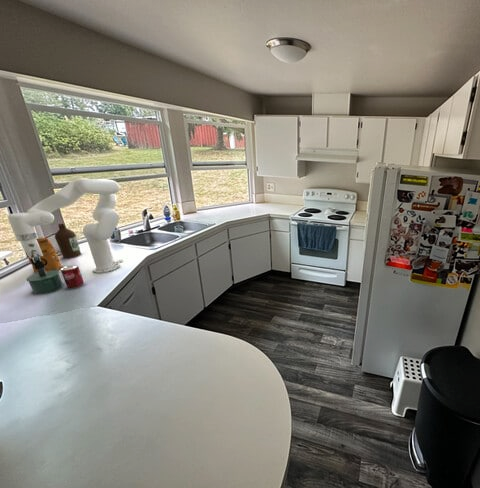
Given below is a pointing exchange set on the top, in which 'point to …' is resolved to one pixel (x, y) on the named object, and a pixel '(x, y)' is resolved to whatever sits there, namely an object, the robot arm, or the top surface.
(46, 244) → the coffee package
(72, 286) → the soda can
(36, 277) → the lid
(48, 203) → the robot arm
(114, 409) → the top surface
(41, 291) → the pot
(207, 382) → the top surface
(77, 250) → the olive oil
